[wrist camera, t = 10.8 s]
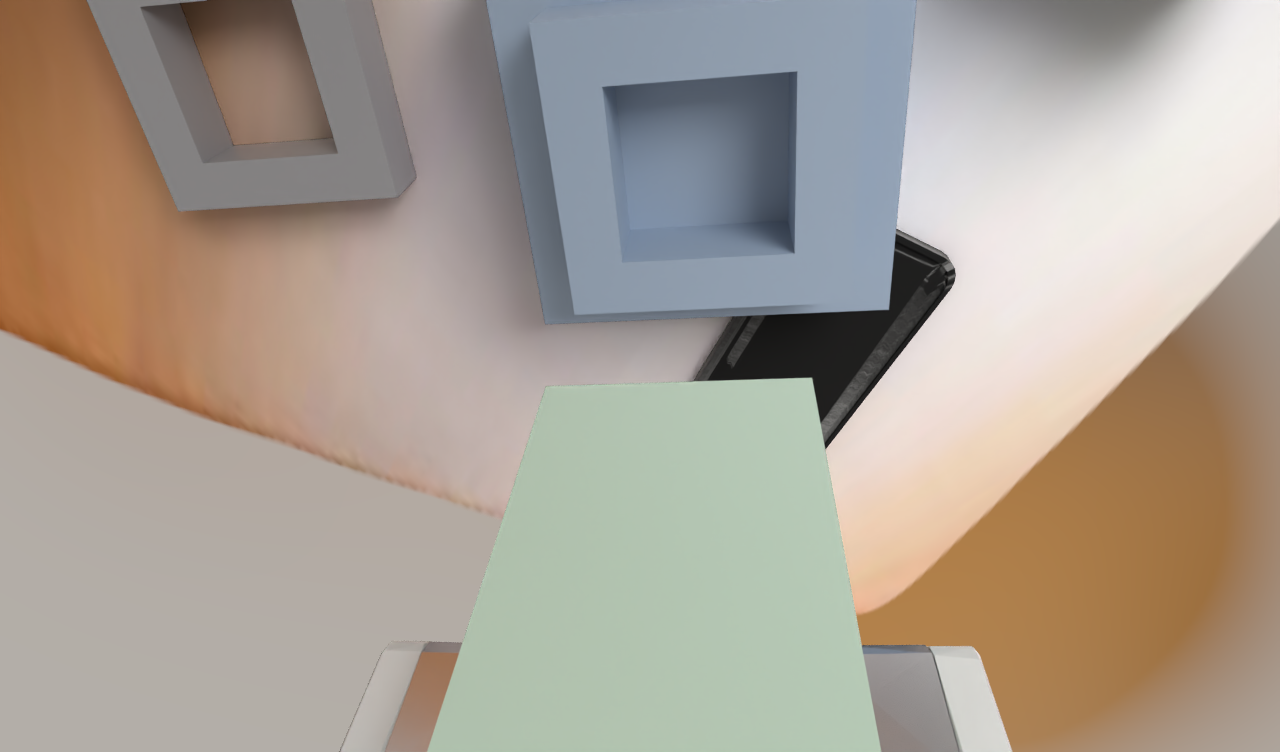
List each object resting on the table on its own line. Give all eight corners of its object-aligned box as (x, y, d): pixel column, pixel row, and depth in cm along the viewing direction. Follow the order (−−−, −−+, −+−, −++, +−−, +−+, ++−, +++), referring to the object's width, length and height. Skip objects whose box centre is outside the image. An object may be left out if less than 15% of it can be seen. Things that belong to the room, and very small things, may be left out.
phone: (966, 268, 34) (791, 494, 42) (960, 257, 35) (789, 480, 43) (811, 191, 33) (659, 439, 41) (808, 183, 34) (661, 426, 42)
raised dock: (510, -66, 29) (449, -46, 23) (893, -106, 28) (950, -97, 21) (564, 272, 37) (530, 362, 30) (868, 256, 35) (904, 348, 29)
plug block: (545, 385, 12) (331, 1047, 5) (812, 377, 11) (945, 1094, 5) (580, 568, 14) (459, 1202, 7) (805, 568, 14) (891, 1243, 7)
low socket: (110, -54, 31) (65, -48, 29) (351, -81, 29) (323, -76, 27) (209, 191, 36) (178, 211, 34) (416, 177, 35) (397, 197, 33)
